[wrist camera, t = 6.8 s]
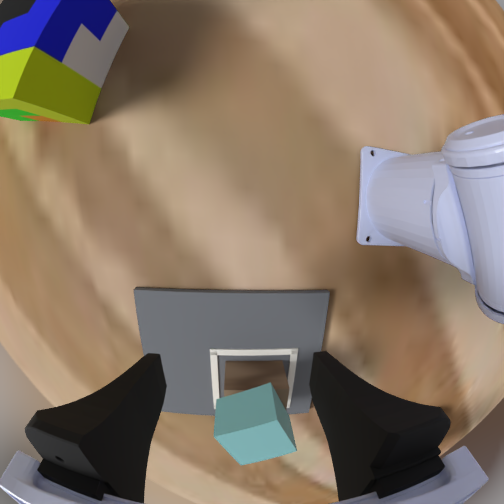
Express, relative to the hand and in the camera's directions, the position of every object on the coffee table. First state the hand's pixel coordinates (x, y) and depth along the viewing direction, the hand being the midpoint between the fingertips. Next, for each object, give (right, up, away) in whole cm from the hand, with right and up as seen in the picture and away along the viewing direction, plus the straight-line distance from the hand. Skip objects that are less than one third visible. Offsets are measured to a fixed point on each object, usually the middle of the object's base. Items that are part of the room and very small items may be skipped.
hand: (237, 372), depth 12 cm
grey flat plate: (-1, -4, +12) cm, 12 cm away
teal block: (+1, -7, +8) cm, 10 cm away
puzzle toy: (-16, +22, +5) cm, 28 cm away
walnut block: (+1, -6, +12) cm, 13 cm away
